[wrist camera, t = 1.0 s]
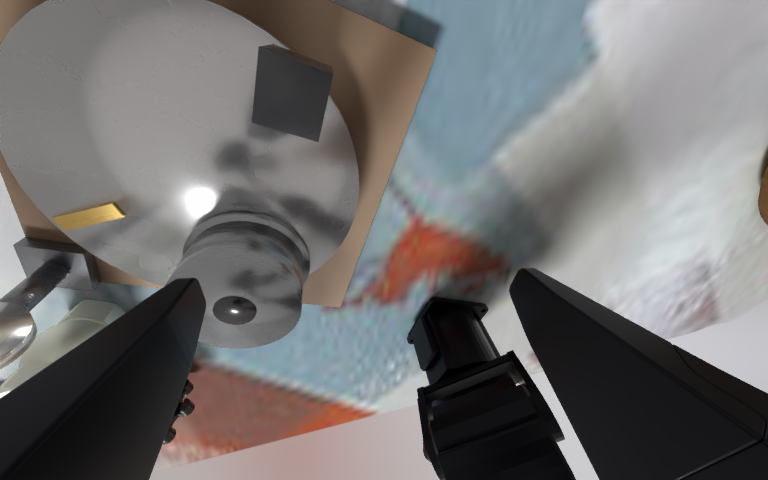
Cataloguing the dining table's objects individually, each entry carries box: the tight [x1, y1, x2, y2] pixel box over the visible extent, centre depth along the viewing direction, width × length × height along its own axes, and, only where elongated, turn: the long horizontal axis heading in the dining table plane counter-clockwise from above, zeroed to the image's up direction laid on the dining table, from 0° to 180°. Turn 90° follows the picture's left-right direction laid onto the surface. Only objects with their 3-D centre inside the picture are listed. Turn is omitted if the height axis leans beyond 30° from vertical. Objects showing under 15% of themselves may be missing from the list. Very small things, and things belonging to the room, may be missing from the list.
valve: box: [0, 299, 195, 444], centre depth 21 cm, size 7×7×12 cm
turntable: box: [0, 0, 359, 286], centre depth 14 cm, size 16×16×5 cm
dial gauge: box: [0, 237, 101, 369], centre depth 14 cm, size 4×3×8 cm
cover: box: [165, 211, 310, 348], centre depth 16 cm, size 7×7×4 cm
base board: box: [0, 0, 437, 307], centre depth 16 cm, size 19×19×1 cm
